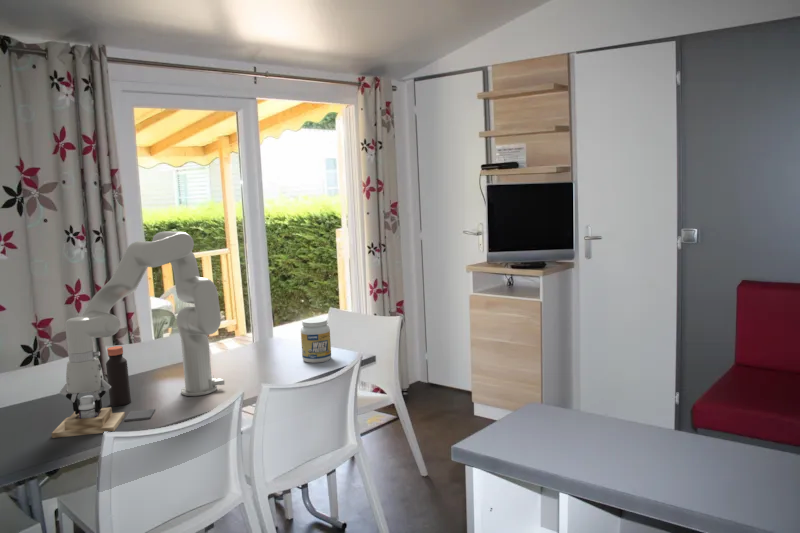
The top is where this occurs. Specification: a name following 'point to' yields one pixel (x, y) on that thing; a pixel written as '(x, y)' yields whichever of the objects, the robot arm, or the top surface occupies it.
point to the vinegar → (118, 377)
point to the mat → (139, 415)
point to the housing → (89, 424)
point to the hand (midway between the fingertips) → (88, 411)
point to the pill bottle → (87, 407)
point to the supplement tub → (315, 340)
